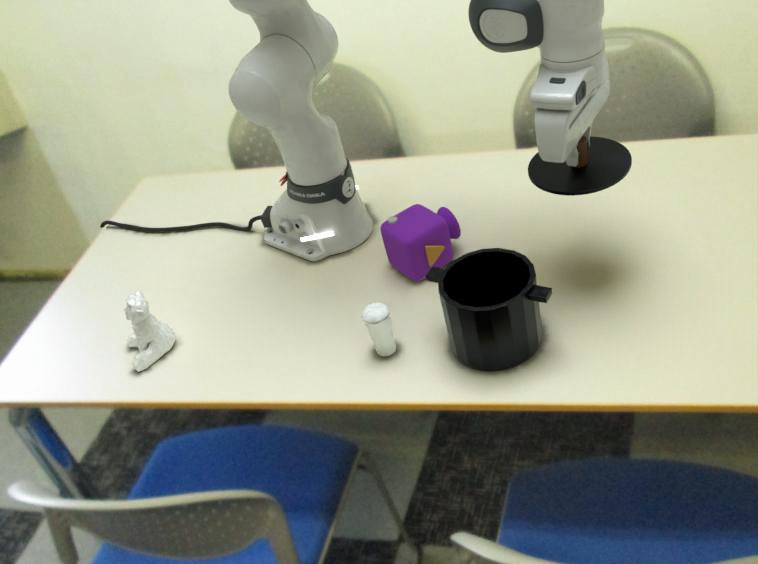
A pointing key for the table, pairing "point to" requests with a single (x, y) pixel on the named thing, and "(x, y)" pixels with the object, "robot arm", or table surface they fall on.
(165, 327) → the sitting furry creature
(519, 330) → the pot
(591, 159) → the pot lid
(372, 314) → the milkshake
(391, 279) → the table surface
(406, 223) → the toy camera
